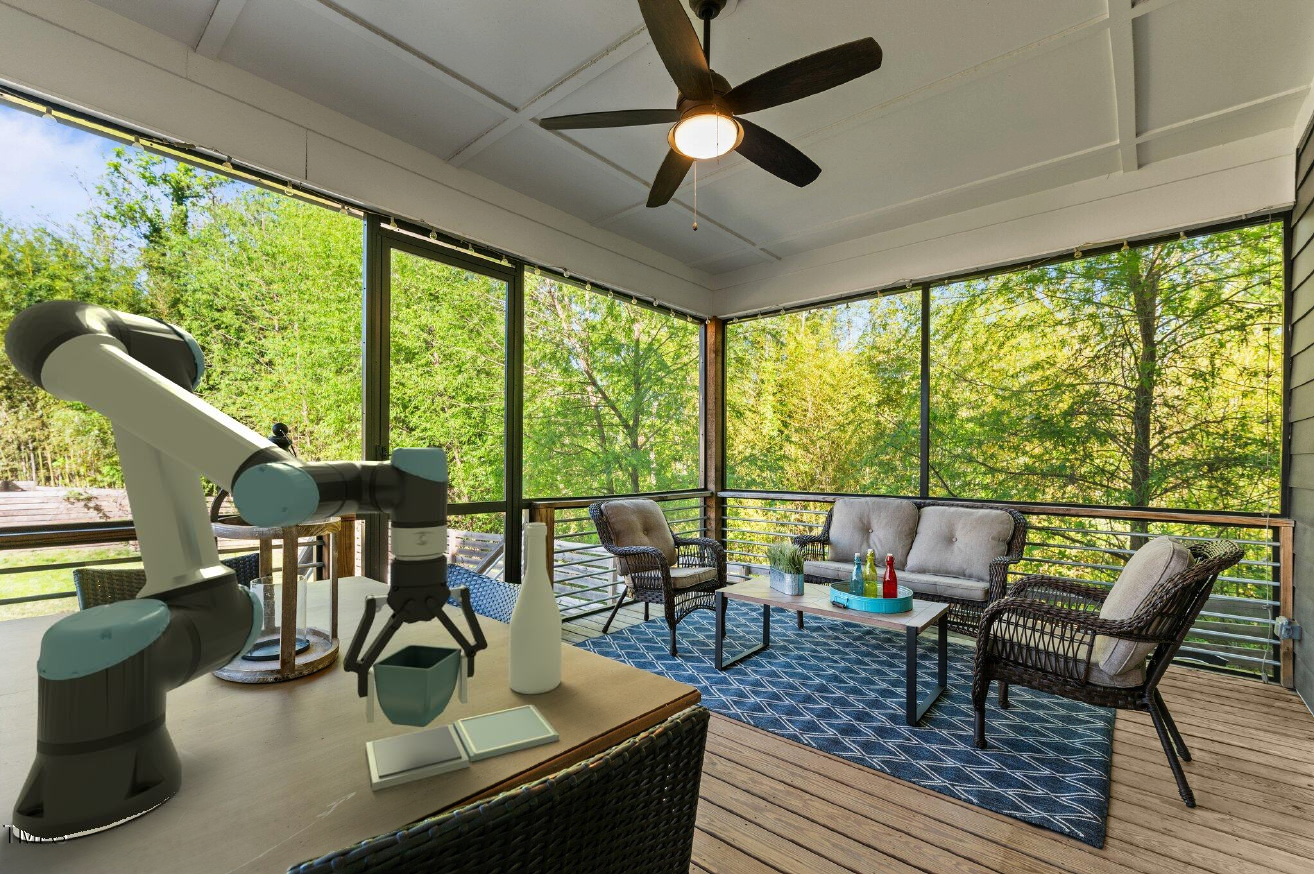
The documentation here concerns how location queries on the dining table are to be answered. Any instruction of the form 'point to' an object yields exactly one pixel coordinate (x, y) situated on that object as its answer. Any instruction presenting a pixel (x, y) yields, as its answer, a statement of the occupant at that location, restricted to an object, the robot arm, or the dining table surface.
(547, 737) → the board
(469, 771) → the dining table surface
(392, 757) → the ink pad
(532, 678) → the wine bottle
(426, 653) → the flower pot
